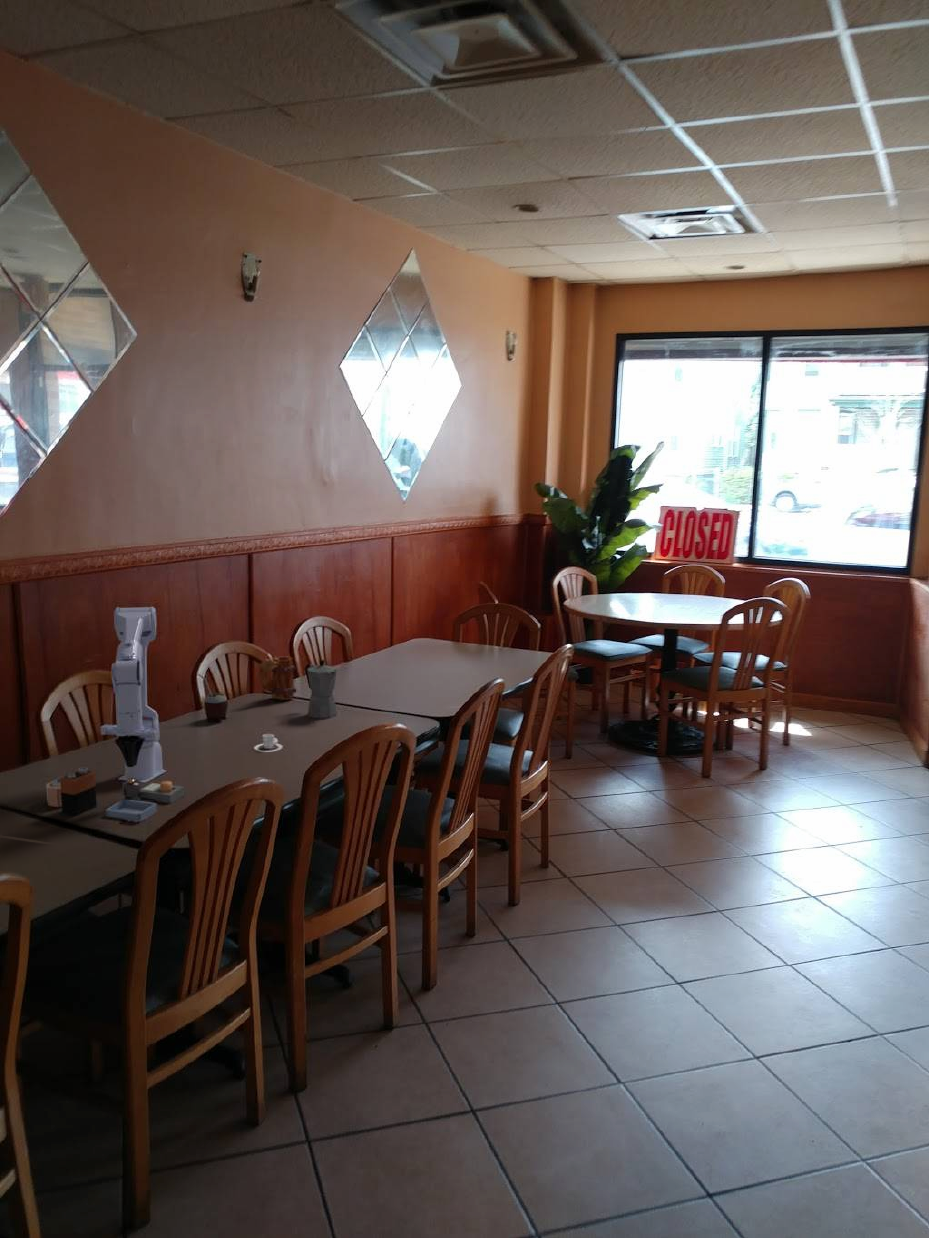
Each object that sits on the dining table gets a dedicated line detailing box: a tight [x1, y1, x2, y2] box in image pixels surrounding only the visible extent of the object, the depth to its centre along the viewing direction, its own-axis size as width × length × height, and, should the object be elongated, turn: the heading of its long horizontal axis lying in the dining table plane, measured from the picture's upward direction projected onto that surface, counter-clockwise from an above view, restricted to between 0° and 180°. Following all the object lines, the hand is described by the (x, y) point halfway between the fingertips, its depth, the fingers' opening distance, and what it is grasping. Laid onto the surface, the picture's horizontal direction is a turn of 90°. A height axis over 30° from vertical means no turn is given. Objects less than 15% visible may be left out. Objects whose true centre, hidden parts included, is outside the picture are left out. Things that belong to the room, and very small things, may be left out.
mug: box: [258, 655, 297, 701], centre depth 314 cm, size 15×8×15 cm, turn 144°
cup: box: [46, 780, 62, 808], centre depth 223 cm, size 6×6×5 cm
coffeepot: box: [304, 659, 338, 719], centre depth 299 cm, size 15×9×18 cm, turn 44°
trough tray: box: [104, 798, 159, 823], centre depth 217 cm, size 7×9×2 cm
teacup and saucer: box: [253, 733, 283, 753], centre depth 267 cm, size 9×8×4 cm
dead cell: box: [52, 775, 65, 788], centre depth 223 cm, size 4×4×6 cm
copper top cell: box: [121, 779, 142, 801], centre depth 224 cm, size 4×4×6 cm
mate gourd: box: [196, 673, 229, 724], centre depth 291 cm, size 8×8×15 cm
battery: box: [60, 766, 98, 817], centre depth 218 cm, size 4×7×10 cm, turn 156°
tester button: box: [159, 780, 173, 793], centre depth 228 cm, size 3×3×3 cm
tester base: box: [140, 782, 185, 804], centre depth 229 cm, size 9×6×2 cm, turn 75°
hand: (131, 765), depth 223 cm, fingers closed
